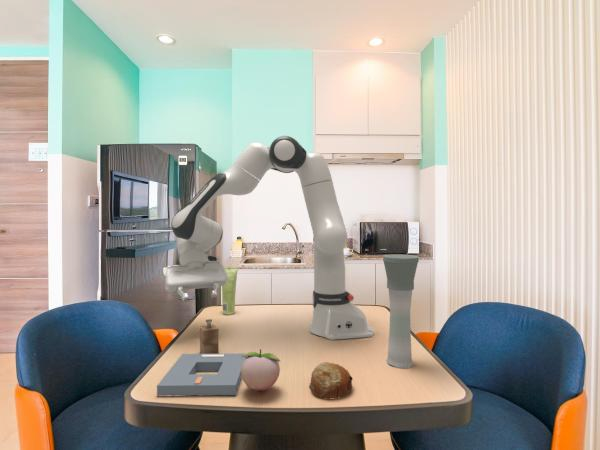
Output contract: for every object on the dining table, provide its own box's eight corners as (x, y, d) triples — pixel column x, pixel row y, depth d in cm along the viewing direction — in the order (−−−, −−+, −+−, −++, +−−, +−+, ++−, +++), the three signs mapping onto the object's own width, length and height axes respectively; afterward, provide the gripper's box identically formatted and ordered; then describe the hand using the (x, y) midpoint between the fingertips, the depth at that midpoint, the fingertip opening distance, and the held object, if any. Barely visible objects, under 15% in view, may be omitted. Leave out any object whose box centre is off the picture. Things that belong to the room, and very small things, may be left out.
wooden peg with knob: (214, 350, 106) (214, 316, 106) (218, 355, 102) (218, 320, 102) (200, 352, 104) (199, 318, 104) (203, 358, 100) (203, 322, 100)
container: (411, 355, 102) (412, 254, 101) (422, 370, 92) (423, 258, 91) (378, 355, 102) (379, 254, 101) (386, 370, 92) (387, 258, 91)
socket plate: (246, 362, 97) (246, 352, 97) (235, 395, 79) (235, 383, 79) (182, 362, 97) (182, 352, 97) (157, 396, 79) (156, 384, 79)
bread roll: (314, 393, 88) (301, 366, 87) (350, 374, 88) (337, 347, 88) (320, 416, 78) (305, 385, 77) (360, 395, 78) (346, 364, 78)
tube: (232, 310, 149) (232, 265, 148) (238, 313, 145) (238, 267, 145) (220, 313, 146) (220, 267, 145) (226, 316, 142) (225, 268, 141)
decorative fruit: (237, 401, 77) (237, 357, 77) (243, 383, 85) (243, 343, 85) (279, 401, 77) (279, 357, 77) (281, 383, 85) (281, 343, 85)
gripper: (162, 260, 114) (167, 296, 106) (223, 256, 124) (232, 289, 115) (161, 272, 118) (165, 307, 110) (220, 267, 128) (228, 299, 119)
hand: (200, 298), depth 113 cm, fingers open, 8 cm apart
